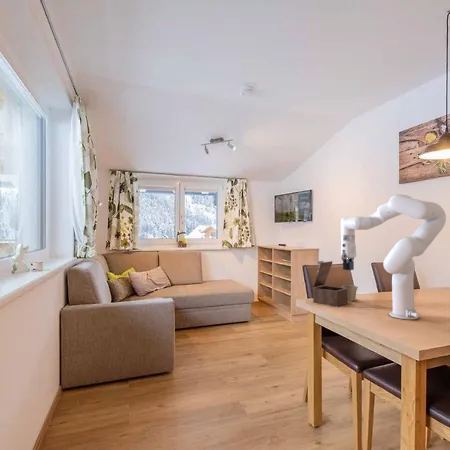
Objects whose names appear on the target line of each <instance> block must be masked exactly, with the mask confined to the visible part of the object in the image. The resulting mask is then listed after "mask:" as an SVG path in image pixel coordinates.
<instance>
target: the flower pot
mask: <svg viewBox="0 0 450 450" xmlns="http://www.w3.org/2000/svg"><path fill="white" fill-rule="evenodd" d="M358 287H359V286H357V285H350V284H345V285H344V284H343V285H341V288H347V293H348V302H353V301H356V298H357V297H356V296H357V291H358Z"/></svg>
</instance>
